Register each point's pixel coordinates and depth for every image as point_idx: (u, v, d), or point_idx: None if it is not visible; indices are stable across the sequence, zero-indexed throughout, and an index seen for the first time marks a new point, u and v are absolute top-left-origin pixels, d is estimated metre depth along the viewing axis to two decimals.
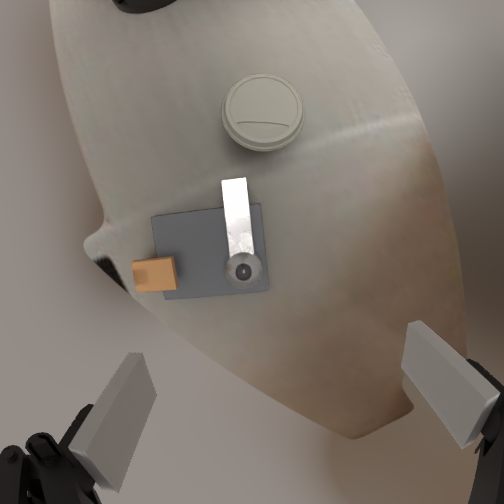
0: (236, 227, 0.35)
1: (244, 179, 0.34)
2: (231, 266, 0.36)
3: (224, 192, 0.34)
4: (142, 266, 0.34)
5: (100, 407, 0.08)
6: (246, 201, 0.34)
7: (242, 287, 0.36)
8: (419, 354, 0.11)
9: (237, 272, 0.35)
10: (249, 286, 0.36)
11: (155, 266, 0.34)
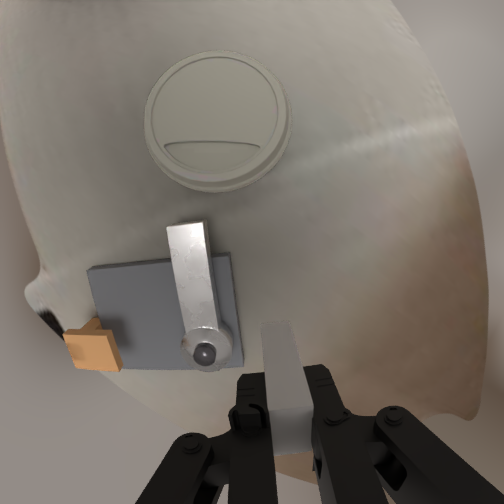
0: (191, 295, 0.24)
1: (200, 225, 0.22)
2: (188, 345, 0.24)
3: (171, 245, 0.23)
4: (75, 340, 0.22)
5: (273, 369, 0.10)
6: (204, 258, 0.23)
7: (205, 370, 0.25)
8: None
9: (196, 356, 0.24)
10: (214, 369, 0.25)
11: (90, 342, 0.22)
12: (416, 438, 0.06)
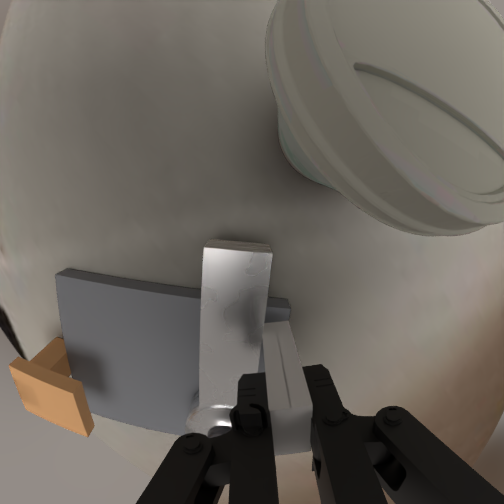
0: (222, 365, 0.14)
1: (267, 257, 0.12)
2: (199, 425, 0.14)
3: (206, 281, 0.13)
4: (26, 381, 0.12)
5: (274, 369, 0.10)
6: (260, 314, 0.13)
7: None
8: None
9: None
10: None
11: (47, 391, 0.12)
12: (415, 438, 0.06)
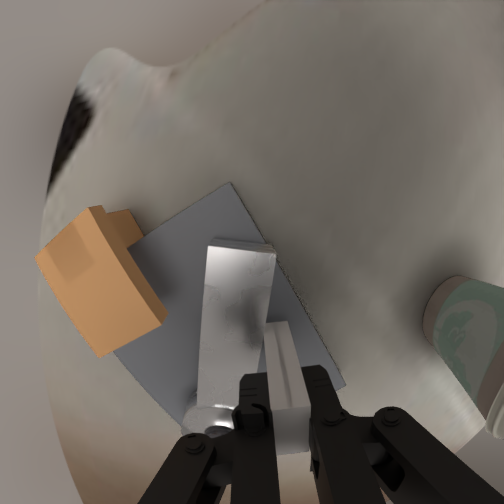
0: (221, 364, 0.14)
1: (271, 258, 0.12)
2: (196, 424, 0.14)
3: (209, 279, 0.13)
4: (95, 249, 0.10)
5: (275, 369, 0.10)
6: (261, 314, 0.13)
7: None
8: None
9: None
10: None
11: (116, 288, 0.10)
12: (414, 439, 0.06)
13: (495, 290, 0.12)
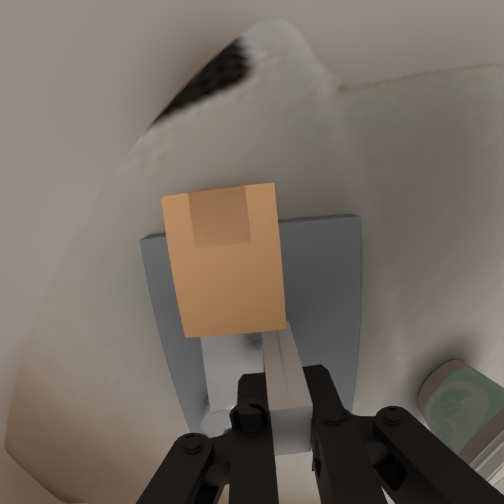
0: (226, 365, 0.13)
1: None
2: (213, 429, 0.14)
3: None
4: (259, 228, 0.10)
5: (274, 369, 0.10)
6: None
7: None
8: None
9: None
10: None
11: (260, 277, 0.10)
12: (415, 438, 0.06)
13: (490, 381, 0.14)
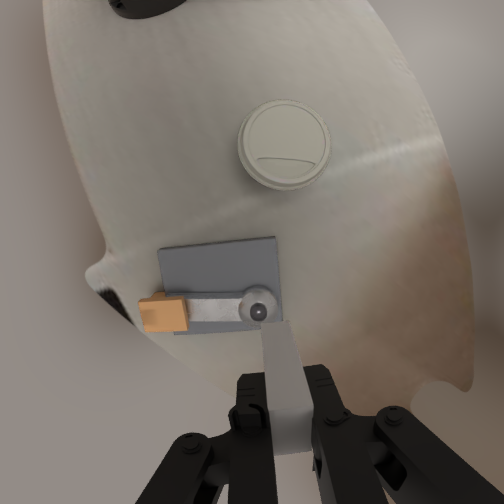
0: (212, 312, 0.34)
1: None
2: (252, 321, 0.34)
3: None
4: (150, 306, 0.31)
5: (273, 369, 0.10)
6: (187, 300, 0.34)
7: (276, 312, 0.34)
8: None
9: (257, 319, 0.33)
10: (276, 305, 0.34)
11: (164, 307, 0.31)
12: (416, 438, 0.06)
13: None
